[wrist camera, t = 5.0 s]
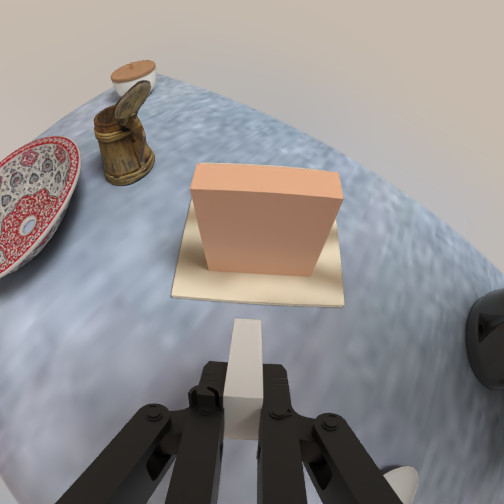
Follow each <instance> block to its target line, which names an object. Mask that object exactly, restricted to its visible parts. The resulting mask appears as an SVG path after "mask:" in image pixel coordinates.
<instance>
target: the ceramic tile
mask: <svg viewBox="0 0 504 504" xmlns="http://www.w3.org/2000/svg"><path fill="white" fill-rule="evenodd" d="M190 191H191V196H192V200H193V205H194V210H195V214H196V219H197V223H198V227H199V232H200V236H201V240H202V245H203V249H204V253H205V257H206V261H207V265H208V269H209V271H221V272H236V273H252V274H268V275H286V276H305V277H311V274H312V272H313V270H314V268H315V265H316V263H317V261H318V259H319V256H320V254H321V252H322V249H323V247H324V245H325V242H326V240H327V238H328V235H329V233H330V231H331V228H332V226H333V223H334V221H335V219H336V216H337V214H338V211H339V209H340V206H341V204H342V201H343V194H342V188H341V183H340V178H339V173H338V172H331V171H322V170H312V169H302V168H290V167H277V166H262V165H244V164H216V163H197V165H196V169H195V173H194V176H193V180H192V184H191V187H190Z"/></svg>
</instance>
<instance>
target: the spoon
mask: <svg viewBox="0 0 504 504" xmlns="http://www.w3.org/2000/svg"><path fill="white" fill-rule="evenodd" d="M383 476H384V477H385V478H386V480H387V481H388V483H389V484H390V486H391V487H392V488H393V490H394V491H395V493H396V494H397V495H398V497H399V498H400V500H401V501H402V502H403V504H411V503H412V501H413V499H414V496H415V493H416V490H417V486H418V473H417V471H416V470H415V469H414V468H413V467H410V466H403V467H399V468H396V469H393V470H391V471H389V472H387V473H385V474H383Z"/></svg>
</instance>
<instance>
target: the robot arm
mask: <svg viewBox="0 0 504 504" xmlns="http://www.w3.org/2000/svg"><path fill="white" fill-rule="evenodd" d="M466 344H467V352H468V357H469V360H470V364H471V366H472V369H473V371H474V373H475V375H476V376H477V378H478V379H479V381H480V382H481V383H482V384H483V385H485V386H486V387H488V388H490V389H494V390H498V389H502V388H504V289H499V290H494V291H492V292H489V293H488V294H486V295H485V296H483V297H482V298H480V299H479V300H478V301H477V302H476V303H475V304H474V306H473V307H472V309H471V312H470V314H469V317H468V322H467V328H466ZM188 397H189V407H188V408H186V409H184V410H178V411H169V410H168V409H167V408H166V407H165V406H163V405H160V404H148V405H145V406H143V407H142V408H140V409H139V410H138V412H137V413H136V414H135V415H134V416H133V417H132V418H131V420H130V421H129V422H128V423H127V424H126V425H125V426H124V427H123V429H122V430H121V431H120V432H119V433H118V434H117V435H116V437H115V438H114V439H113V440H112V441H111V442H110V443H109V444H108V446H107V447H106V448H105V449H104V450H103V451H102V452H101V453H100V455H99V456H98V457H97V458H96V459H95V460H94V461H93V462H92V464H91V465H90V466H89V467H88V468H87V469H86V470H85V471H84V472H83V474H82V475H81V476H80V477H79V478H78V479H77V480H76V481H75V482H74V483H73V485H72V486H71V487H70V488H69V489H68V490H67V491H66V492H65V493H64V494H63V495H62V497H61V498H60V499H59V500H58V501H57V502H56V503H55V504H146V503H147V501H148V500H149V498H150V497H151V495H152V494H153V492H154V491H155V489H156V487H157V486H158V484H159V483H160V481H161V480H162V478H163V477H164V475H165V474H166V472H167V470H168V469H169V467H170V466H171V464H172V463H173V461H174V459H175V458H176V461H175V465H174V469H173V473H172V477H171V481H170V485H169V489H168V493H167V497H166V501H165V504H217V499H218V490H219V481H220V472H221V463H222V455H223V438H228V439H244V440H258V450H257V458H256V459H257V504H307V497H306V489H305V481H304V473H303V465H302V462H303V464H304V466H305V468H306V470H307V472H308V474H309V476H310V478H311V480H312V483H313V485H314V487H315V489H316V491H317V493H318V495H319V497H320V499H321V501H322V503H323V504H403V502H402V501H401V500H400V498H399V497H398V495H397V494H396V493H395V491H394V490H393V488H392V487H391V486H390V484H389V483H388V481H387V480H386V478H385V477H384V476H383V474H382V473H381V471H380V470H379V468H378V467H377V466H376V464H375V463H374V461H373V460H372V458H371V457H370V456H369V454H368V453H367V451H366V450H365V448H364V447H363V445H362V444H361V443H360V441H359V440H358V438H357V437H356V435H355V434H354V432H353V431H352V429H351V428H350V427H349V425H348V424H347V422H346V421H345V420H344V419H343V418H342V417H341V416H339V415H337V414H333V413H324V414H321V415H319V416H318V417H317V418H316V419H312V418H308V417H304V416H301V415H299V414H298V413H296V412H295V411H294V409H293V408H292V406H291V399H290V392H289V385H288V379H287V371H286V370H285V368H284V367H283V366H282V365H281V364H262V329H261V320H254V319H237V318H235V321H234V328H233V334H232V341H231V347H230V354H229V361H228V363H227V362H215V361H209V362H208V363H207V364H206V365H205V366H204V368H203V371H202V375H201V379H200V383H199V385H198V386H195V387H193V388H192V389H190V391H189V392H188ZM176 456H177V457H176Z"/></svg>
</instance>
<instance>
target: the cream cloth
mask: <svg viewBox="0 0 504 504" xmlns="http://www.w3.org/2000/svg"><path fill="white" fill-rule="evenodd" d="M216 164H231V163H216ZM244 165H253V164H244ZM262 166H270V165H262ZM277 167H284V166H277ZM290 168H296V167H290ZM302 169H307V168H302ZM312 170H317V169H312ZM322 171H326V170H322ZM171 296H172V297H173V298H181V299H191V300H203V301H215V302H228V303H243V304H259V305H277V306H300V307H331V308H343V306H344V293H343V281H342V269H341V259H340V250H339V241H338V233H337V225H336V219H335V221H334V223H333V226H332V228H331V231H330V233H329V235H328V238H327V240H326V242H325V245H324V247H323V249H322V252H321V254H320V256H319V259H318V261H317V263H316V265H315V268H314V270H313V272H312V274H311V277H305V276H286V275H268V274H252V273H236V272H221V271H209V269H208V265H207V261H206V257H205V253H204V249H203V245H202V240H201V236H200V232H199V227H198V223H197V219H196V214H195V210H194V205H193V200H191V204H190V208H189V212H188V216H187V221H186V225H185V230H184V234H183V239H182V243H181V248H180V253H179V258H178V262H177V267H176V273H175V278H174V283H173V288H172V294H171Z"/></svg>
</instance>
